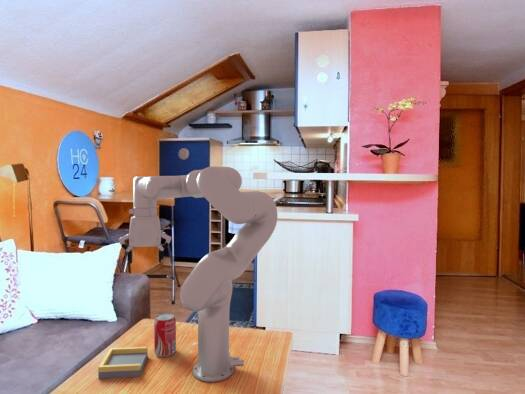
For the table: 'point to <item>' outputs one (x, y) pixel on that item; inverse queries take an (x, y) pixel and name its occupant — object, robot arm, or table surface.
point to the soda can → (164, 335)
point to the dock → (123, 362)
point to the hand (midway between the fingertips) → (145, 262)
